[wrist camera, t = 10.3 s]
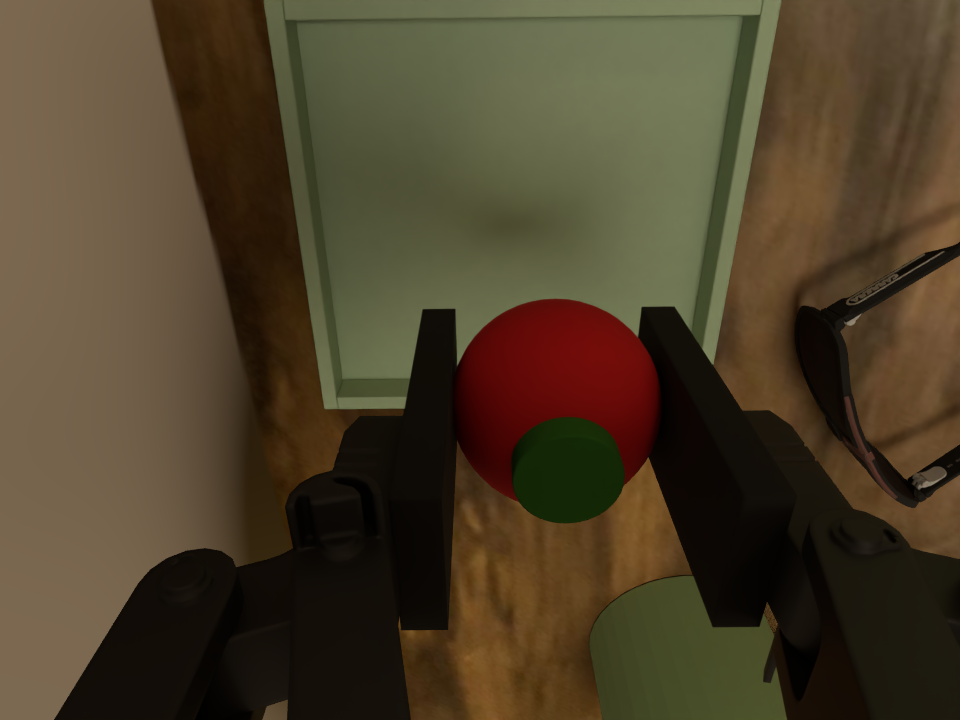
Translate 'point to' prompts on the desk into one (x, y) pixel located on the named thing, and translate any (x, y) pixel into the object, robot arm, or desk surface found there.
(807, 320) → the sunglasses
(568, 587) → the desk surface
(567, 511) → the red tomato
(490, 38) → the tray
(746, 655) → the mug
